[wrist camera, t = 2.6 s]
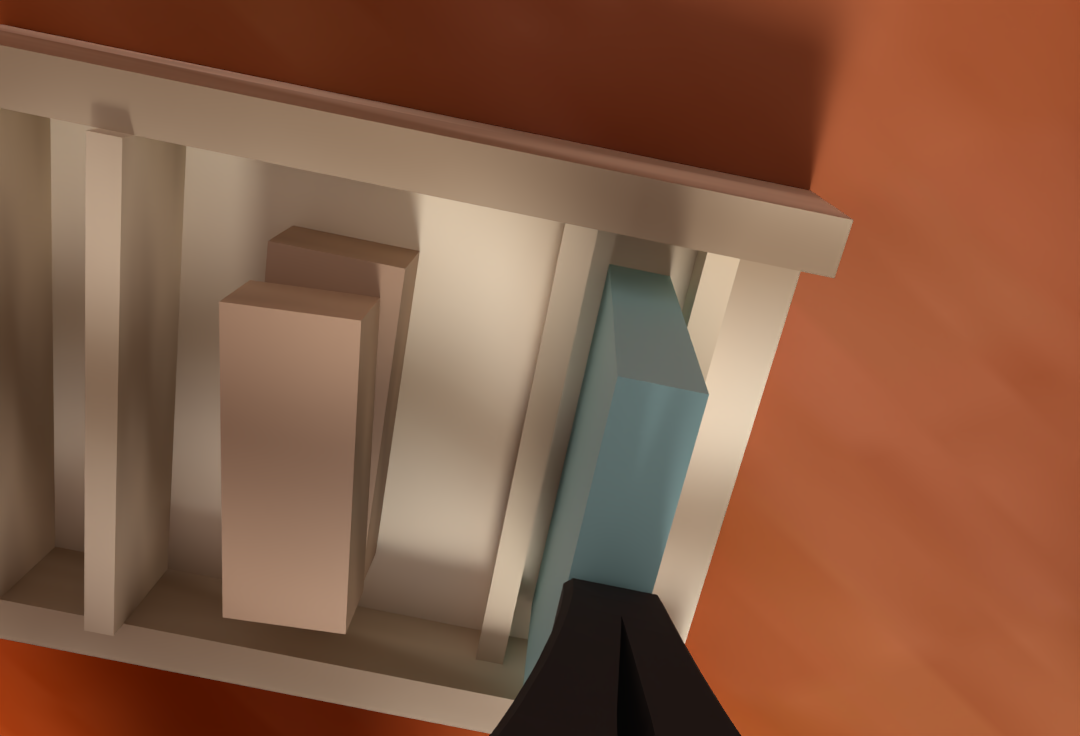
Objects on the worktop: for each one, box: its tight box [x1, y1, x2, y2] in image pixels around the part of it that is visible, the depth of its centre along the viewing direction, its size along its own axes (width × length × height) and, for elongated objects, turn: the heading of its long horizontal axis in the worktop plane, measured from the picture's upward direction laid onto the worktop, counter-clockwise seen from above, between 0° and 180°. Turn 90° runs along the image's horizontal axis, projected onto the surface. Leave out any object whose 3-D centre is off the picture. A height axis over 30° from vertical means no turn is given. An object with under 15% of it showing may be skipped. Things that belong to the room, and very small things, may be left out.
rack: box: [0, 25, 853, 734], centre depth 17 cm, size 12×16×3 cm
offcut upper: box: [219, 280, 380, 634], centre depth 16 cm, size 6×2×1 cm, turn 173°
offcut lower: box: [265, 225, 420, 580], centre depth 17 cm, size 7×2×1 cm, turn 169°
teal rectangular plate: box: [523, 264, 709, 685], centre depth 15 cm, size 8×1×6 cm, turn 169°
